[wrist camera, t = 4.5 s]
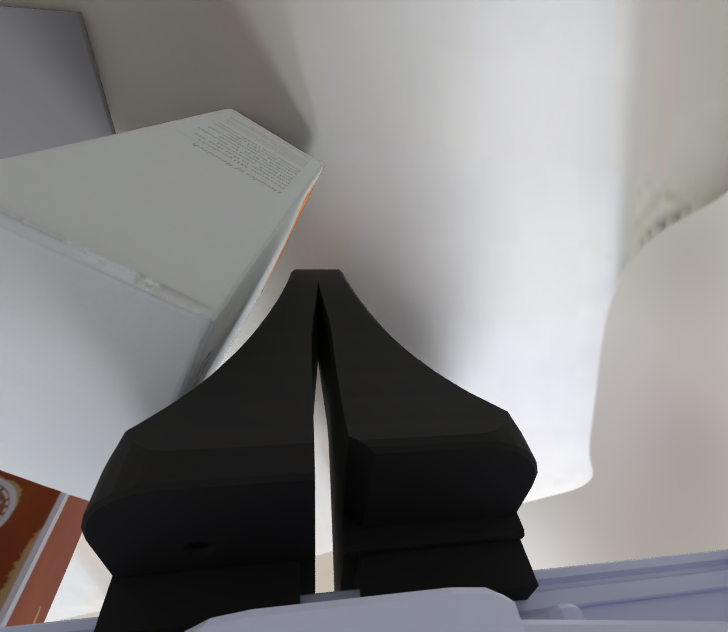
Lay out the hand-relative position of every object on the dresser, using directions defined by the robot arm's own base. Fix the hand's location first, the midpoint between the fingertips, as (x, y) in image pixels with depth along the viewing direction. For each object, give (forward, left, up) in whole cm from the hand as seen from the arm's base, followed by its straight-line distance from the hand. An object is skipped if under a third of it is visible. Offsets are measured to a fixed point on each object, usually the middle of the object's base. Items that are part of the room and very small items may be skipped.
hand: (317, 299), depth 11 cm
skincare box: (0, +2, -8) cm, 8 cm away
